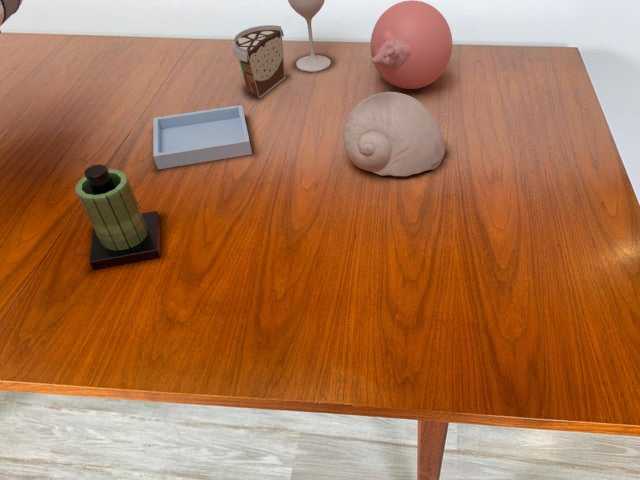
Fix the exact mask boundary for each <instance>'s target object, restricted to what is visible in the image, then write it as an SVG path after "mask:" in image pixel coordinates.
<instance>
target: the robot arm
mask: <svg viewBox="0 0 640 480" xmlns="http://www.w3.org/2000/svg"><path fill="white" fill-rule="evenodd" d="M23 1H24V0H0V27H1V26H2V25H4V24H5V22H7V20H9V19H10V18H11V16H13V15H14V14H16V13H17V12H18V10H19V9H20V6H21V5H22V4H23ZM1 33H2V31H1V30H0V34H1Z"/></svg>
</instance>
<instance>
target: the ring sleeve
mask: <svg viewBox="0 0 640 480" xmlns="http://www.w3.org/2000/svg"><path fill="white" fill-rule="evenodd" d="M107 169H108V171H109V174H110V176H111V178H112V181H113V183H114V185H115V189H113V190H111V191H109V192H107V193H105V194H99V195H94V194H93V192H92V189H91V187H90V185H89V183H88V181H87V179H86V177H85V176H83V177H82V178H81V179H80V180H78V182H77V183H76V185H75V189H74V192H75V194H76V196H77V198H78V200H79V202H80V204H81V207H82V208H83V211H84V212H85V214H86V216H87V218H88V220H89V222H90V225H91V227H92V229H93V228H94V230H95V232H96V234H97V236H98V238H99V240H100V242H101V244H102V245H103V246H104V247H105V248H107V249H110V250H115V251H117V250H124V249H129V247H130V248H132V247H134V246H136V245H138V244H139V243H140V242H142V241H143V240H144V239H145V237H146V236H147V234H148V227H147V225H146V222H145V220H144V217H143V215H142V213H143V212H142V210H141V207H140V205H139V202H138V201H137V198H136V195H135V192H134V190H133V188H132V185H131V183H130V181H129V180H130V179H129V178H128V176H127V175H126V174H125V173H124V172H123V171H122V170H119V169H114V168H107Z"/></svg>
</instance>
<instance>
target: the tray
mask: <svg viewBox="0 0 640 480" xmlns="http://www.w3.org/2000/svg"><path fill="white" fill-rule="evenodd" d="M152 121H153V123H152V124H153V126H152V127H153V129H152V130H153V133H152V135H153V136H152V141H153V142H152V145H153V146H152V148H153V149H152V157H153V160H154V162H155V163H154V164H155V166H156V168H157V170H164V169H171V168H177V167H184V166H188V165H195V164H201V163H207V162H213V161H218V160H225V159H233V158H237V157H243V156H250V155H253V150H252V146H251V142H250V136H249V131H248V126H247V122H246V117H245V113H244V107H243V105H242V104H239V105H231V106H225V107H219V108H217V107H216V108H212V109H204V110H197V111H193V112H192V111H191V112H183V113H177V114H171V115H164V116H157V117H153V120H152Z"/></svg>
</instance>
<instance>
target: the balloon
mask: <svg viewBox="0 0 640 480" xmlns="http://www.w3.org/2000/svg"><path fill="white" fill-rule="evenodd" d="M452 53H453V36H452V31H451V28H450V25H449V23H448V22H447V19H446V18H445V16H444V15H443V13H441V12H440V10H438V9H437V8H436V7H434V6H433V5H431V4H429V3H427V2H424V1H421V0H404V1H400V2H397V3H395V4H393V5H392V6H390V7H388V8H387V9H386V10H385V11H384V12H382V14H381V15H380V16H379V18H378V19H377V21H376V23H375V24H374V27H373V29H372V33H371V36H370V54H371V63H372V64H373V65H374V67H375V68H376V70H377V72H378V73H379V74H380V75H381V77H382V78H383V79H384V80H385V81H386V82H388V83H389V84H391V85H393V86H395V87H397V88H401V89H406V90H416V89H422V88H424V87H426V86H429V85H430V84H432V83H434V82H435V81H436V80H438V79H439V78H440V76H441V75H443V73H444V71H445V70H446V69H447V67H448V65H449V63H450V60H451V57H452Z"/></svg>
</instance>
